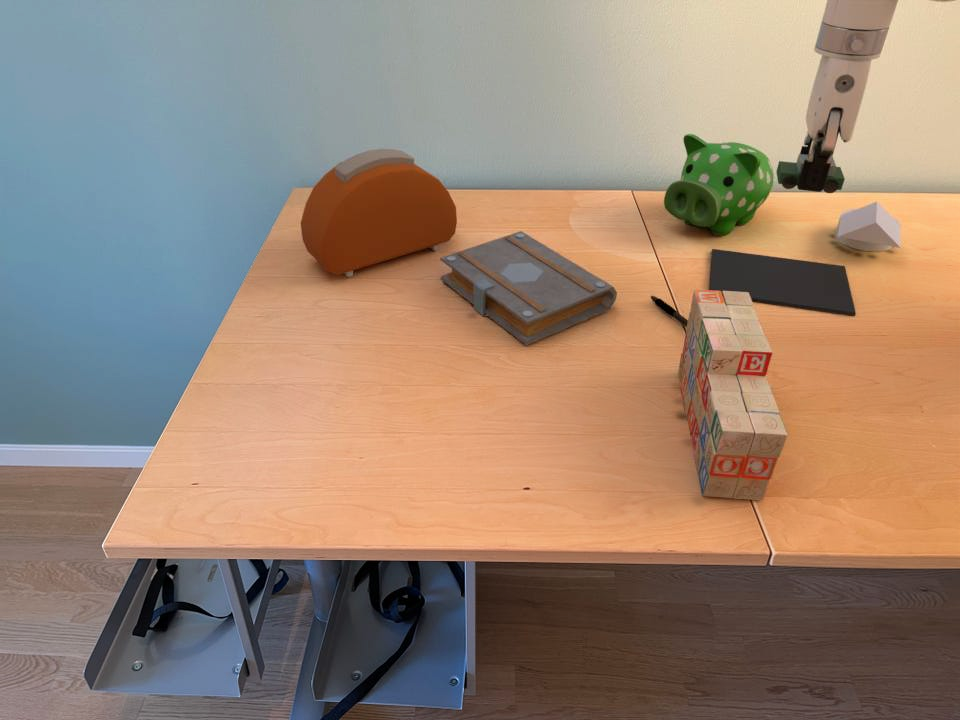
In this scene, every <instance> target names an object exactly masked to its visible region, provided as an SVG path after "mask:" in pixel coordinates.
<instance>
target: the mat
mask: <svg viewBox="0 0 960 720" xmlns="http://www.w3.org/2000/svg"><path fill="white" fill-rule="evenodd" d="M709 266H710V268H709V279H708V280H709V281H708V290H712V291H721V292H722V291H735V292H748V293H749V295H750V297H751V300H752V302H753V303H763V304H768V305H776V306H783V307H790V308H797V309H802V310H810V311H817V312H825V313H831V314H837V315H845V316H852V317H855V316H856V313H857V312H856V308H855V304H854V298H853V296H852V295H853V294H852V291H851V286H850V281H849V277H848V273H847V270H846V266H845V265H840V264H834V263H827V262H817V261H810V260H803V259H794V258H786V257H780V256H779V257H778V256H770V255H763V254H756V253H747V252H740V251H734V250H724V249H718V248H712V249H711V255H710V265H709Z"/></svg>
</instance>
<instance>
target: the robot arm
mask: <svg viewBox="0 0 960 720" xmlns="http://www.w3.org/2000/svg"><path fill="white" fill-rule="evenodd" d="M930 1H931V2H939V3H948V2H956V0H930ZM898 3H899V0H827V1H826V3H825V8H824V12H823V14H822V18H821V22H820V26H819V30H818V33H817V36H816V37H817V38H816V41H815V45H814V47H813V48H814V49H813V51H814V53H817V54H818V55H820V56H821V58H820V60H819V63H818V67H817V71H816V73H815V76H814V81H813V85H812V89H811V91H810V96H809V100H808V104H807V108H806V114H805V124H806V128H807V130H806V134H805V137H804V140H803V145H802V146H801V149H800V151H799V154H805V155H808V160H806V159H805V161H804V164H803V167H802V171H801V174H800V178H799V181H798V185H797V186H796V187H797V190H799V191H807V192H815V193H817V192H818V193H822V192H823V191H824V190H823V188H824V185H825V181H826V178H827V175H828V172H829V169H830V166H831V161H832V157H833V158H834V153H835V150H836V145H837V142H838V137H840V139H841V141H842V142H843V143H849V142H850V141H851V140H852V138H853V134H854V131H855V128H856V124H857V120H858V116H859V113H860V109H861V105H862V102H863V99H864V95H865V90H866V87H867V84H868V80H869V74H870V69H871V64H872V60H876V59H879V58H880V57H881V54H882V52H883V48H884V46H885V45H884V44H885V41H886V39H887V37H888V32H889V30H890V26H891V23H892V20H893V18H894V14H895V12H896V8H897V5H898Z"/></svg>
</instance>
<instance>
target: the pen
mask: <svg viewBox="0 0 960 720" xmlns="http://www.w3.org/2000/svg"><path fill="white" fill-rule="evenodd" d="M650 299H651V301H652V303H654V304H655V306H657V307H658V308H659V309H661V310H662V311H663V312H664V313H665V314H666V315H668V316H670V317H671V318H673V319H675V320H676V321H677V322H678V323H680V324H681V325H682V326H684V327H685V328H687V323H688V318H686V317H684V316H683V315H682V314H680V313H679V311H678V310H677V309H675V308H674V307H673V306H671V305H670V304H668V303H667V302H665V301H664V300H663V299H662V298H659V297H657V296H655V295H650Z"/></svg>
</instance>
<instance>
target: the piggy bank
mask: <svg viewBox="0 0 960 720" xmlns="http://www.w3.org/2000/svg"><path fill="white" fill-rule="evenodd" d="M682 141H683V144H684V148H685V153H686V158H685V162H684V164H683V167H682V171H681V175H680V180H676V181H674V182H671V184H670V185H669V186H668V187H667V188H666V191H665V193H664V197H663V206H664V208H665V210H666V211H667V212H668V213H669V214H670V215H671V216H672V217H674V218H676V219H678V220H680V221H683V222H684V223H685V224H688V225H690V226H696V227H700V228H709V229H710V230H711V233H712V234H713V235H716V236H719V237H720V236H721V237H724V236H727V235H729V234H731V232H733V231H734V229H735V226H736V225H737V226H738V225H739V226H743V225H746V224H748V223H749V222H750V221H751V220H752V219H753V218H754V217H755V214H756V212H757V210H758V209H759V208H760V207H761V206H762V205H763V204H764V203H765V201H767V199H768V197H769V196H770V193H771V192H772V189H773V186H774V178H775V177H774V171H773V170H774V169H773V166H772V164H771V161H770V159H769V157H768V156H767V154H765V153H764V152H762V151H761V150H759V149H757V148H755V147H753V146H752V145H748V144H744V143H741V142H733V141H732V142H731V141H728V142H727V141H726V142H706V141H705V140H704V139H702V138H700V137H699V136H698V135H696V134H693V133H688V134H685V135H683V140H682Z"/></svg>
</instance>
